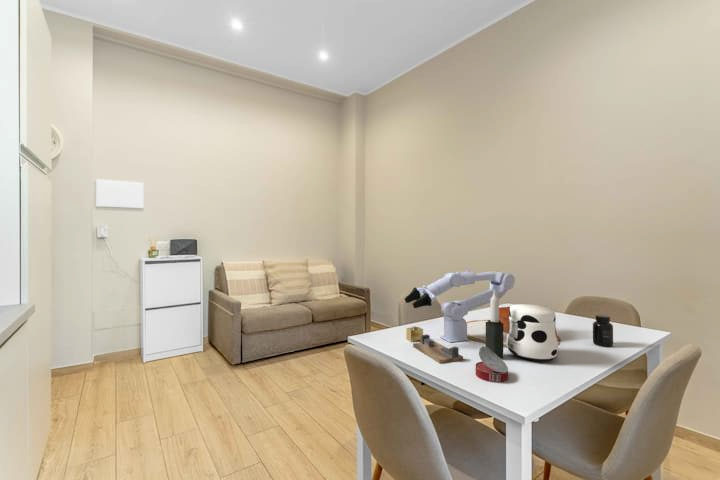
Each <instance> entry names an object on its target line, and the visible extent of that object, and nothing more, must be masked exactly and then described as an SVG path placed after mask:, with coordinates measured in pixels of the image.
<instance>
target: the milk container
mask: <svg viewBox="0 0 720 480" xmlns="http://www.w3.org/2000/svg"><path fill="white" fill-rule="evenodd" d="M509 307H510V312H509V315H510V316H509V331H508V333H507V335H506V347H507V349H508V351H509V352H510V353H511V354H513V355H514V356H516V357H519V358H522V359H525V360H530V361H539V362H541V361H551V360H553V359H555V358H556V357H557V355H558V352H559V342H558V339H557V335H556V334H557V332H556V333H555V327H556V328H557V326H556V323H557V320H556V317H557V316H556V311H555V309H554V308H552V307H548V306H546V305H545V306H543V305H540V304H539V305H538V304H530V303H529V304H525V303H524V304H523V303H522V304H520V303H519V304H518V303H517V304H516V303H515V304H512V305H510V306H509Z"/></svg>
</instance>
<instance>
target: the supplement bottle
mask: <svg viewBox="0 0 720 480" xmlns="http://www.w3.org/2000/svg"><path fill="white" fill-rule="evenodd" d="M592 342H593V344H594V345H595V346H597V347H603V348H611V347H614V325H613V324H612V323H611V317H610V316H608V315H604V314H596V315H595V321H593V323H592Z"/></svg>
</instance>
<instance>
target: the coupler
mask: <svg viewBox="0 0 720 480" xmlns="http://www.w3.org/2000/svg"><path fill="white" fill-rule="evenodd" d="M421 335H424V328H422V327H420V326H411V327H407V328H406V333H405V337H406V339H405V340H407V341H408V342H410V343H415V342H421Z"/></svg>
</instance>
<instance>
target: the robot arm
mask: <svg viewBox="0 0 720 480" xmlns="http://www.w3.org/2000/svg"><path fill="white" fill-rule="evenodd" d="M476 281H478V282H479V281H489V289H488V290H485V291H483V292H480V293H476V294H475V295H472V296H470V297H467V298H465V299H462V300H453V301H445V302H444V303H442V304H441V308H440V311H441V313H442V314H443V335H439V337H440V339H443V340H445V341H446V342H448V343H456V342H464V341H469V338H468V323H467V320H466V319H465V318H464V317H465V316H467V315H468V314H469V311H472V310H474V309H478V308H480V307H482V306H485V305H487V304H489V303H490V299H491V298H492V296H493V293H494V292H493V291H494V290H495V291H496V295H497V298H498V299H499V300H500V299H501V298H502V297H503V296H504V295H505V294H506V293H507V292H508V291H509V290H511V289H513V288H514V285H515V276H514V275H513V274H512V273H508V272H500V271H493V270H491V271H489V270H488V271H484V272H477V273H476V272H474V271H472V270H468V269H466V270H465V271H456V272H445V274H444V276H443V277H442V278H440V279H437V280H436V281H434V282H431V283H430V284H428V285H424V284H422V287H414V288H413V289H412V290H411V291H410V292H409V294H407V296H405V297H404V301H405V303H406V304H409V303H411V302H412V306H413V308H414V309H418V308H422V307H431V306H432V305H433V304H432V303H434V302H437V300H438V299H437V297H439V296H440V295H441V294H444V293H445V292H447V291H449V290H451V289H452V288H454V287H455V288H459V287H461V286H467V285H469V286H470V285H474V284H475V283H476ZM413 301H414V302H413Z"/></svg>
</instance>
